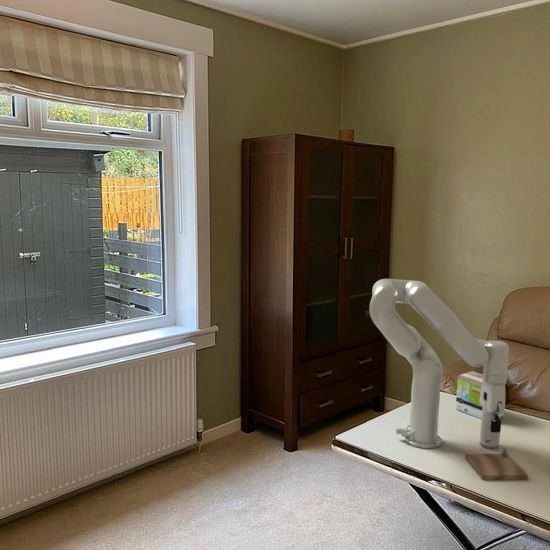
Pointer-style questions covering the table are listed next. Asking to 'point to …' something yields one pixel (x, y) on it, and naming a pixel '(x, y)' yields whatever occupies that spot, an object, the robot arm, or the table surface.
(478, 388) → the tea box
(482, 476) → the walnut board
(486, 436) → the travel mug
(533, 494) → the table surface
